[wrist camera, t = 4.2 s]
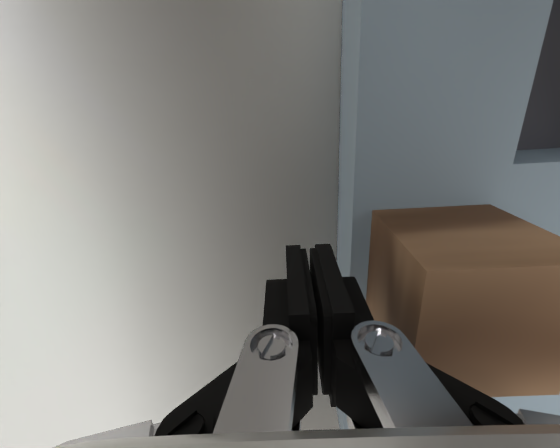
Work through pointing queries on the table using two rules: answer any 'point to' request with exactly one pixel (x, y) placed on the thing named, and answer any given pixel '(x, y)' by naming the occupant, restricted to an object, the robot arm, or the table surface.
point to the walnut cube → (471, 294)
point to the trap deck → (448, 119)
